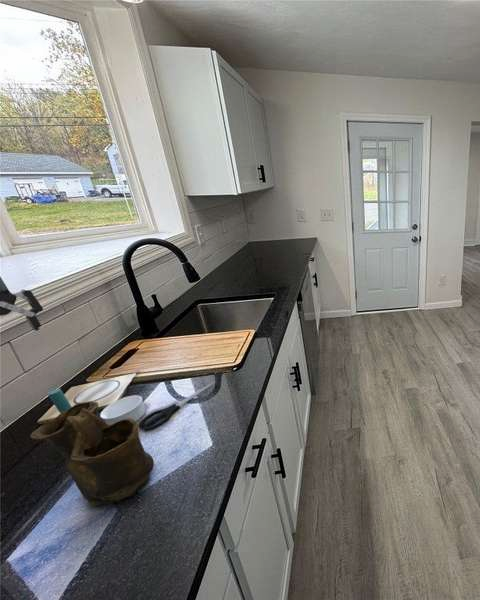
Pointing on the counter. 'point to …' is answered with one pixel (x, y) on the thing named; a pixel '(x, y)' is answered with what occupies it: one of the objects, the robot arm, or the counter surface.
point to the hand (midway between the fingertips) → (12, 337)
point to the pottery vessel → (99, 453)
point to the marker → (59, 400)
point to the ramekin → (123, 410)
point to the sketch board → (93, 394)
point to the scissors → (166, 412)
